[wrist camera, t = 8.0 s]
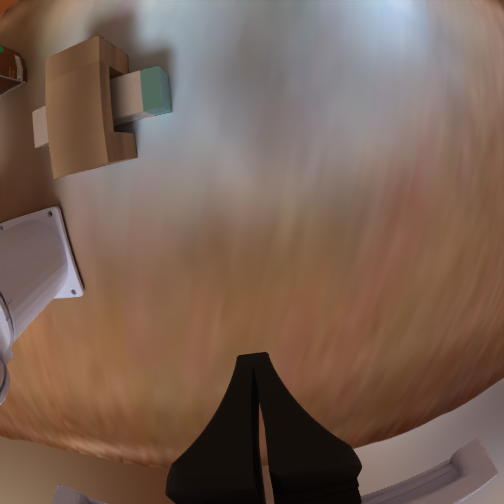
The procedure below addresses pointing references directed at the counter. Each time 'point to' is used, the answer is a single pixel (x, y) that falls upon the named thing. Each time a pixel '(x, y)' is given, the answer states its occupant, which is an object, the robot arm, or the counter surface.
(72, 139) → the angled brown block
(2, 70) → the food container
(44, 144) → the white teal bar
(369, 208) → the counter surface
